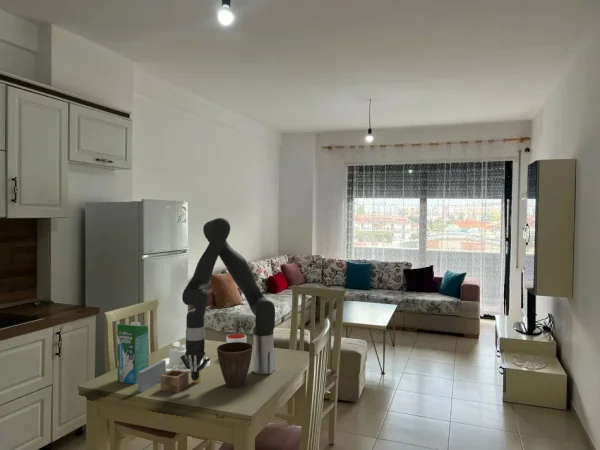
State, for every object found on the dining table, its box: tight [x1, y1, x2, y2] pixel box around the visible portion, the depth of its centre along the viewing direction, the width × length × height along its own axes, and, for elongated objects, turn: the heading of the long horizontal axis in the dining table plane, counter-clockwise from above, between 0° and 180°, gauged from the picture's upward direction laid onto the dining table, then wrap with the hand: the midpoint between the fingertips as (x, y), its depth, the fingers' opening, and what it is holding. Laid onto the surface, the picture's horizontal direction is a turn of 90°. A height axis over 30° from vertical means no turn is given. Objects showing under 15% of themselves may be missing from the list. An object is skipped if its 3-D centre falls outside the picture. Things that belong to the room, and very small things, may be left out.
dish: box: [162, 340, 211, 374], centre depth 216 cm, size 25×25×11 cm
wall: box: [137, 359, 166, 393], centre depth 189 cm, size 2×16×8 cm, turn 162°
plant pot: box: [216, 342, 253, 389], centre depth 189 cm, size 15×15×16 cm
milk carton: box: [116, 321, 149, 385], centre depth 196 cm, size 9×9×25 cm
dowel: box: [192, 364, 202, 384], centre depth 193 cm, size 3×3×12 cm
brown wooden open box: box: [160, 369, 190, 393], centre depth 186 cm, size 8×8×6 cm
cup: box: [226, 333, 247, 343], centre depth 229 cm, size 10×10×10 cm
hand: (195, 379), depth 183 cm, fingers closed
